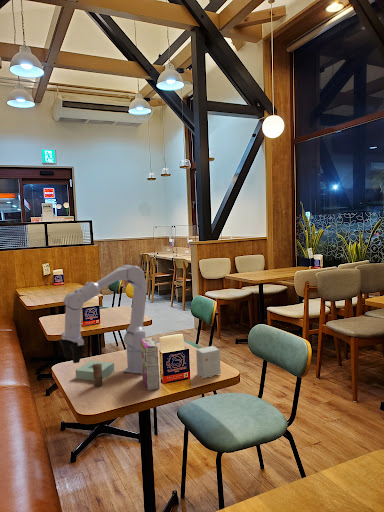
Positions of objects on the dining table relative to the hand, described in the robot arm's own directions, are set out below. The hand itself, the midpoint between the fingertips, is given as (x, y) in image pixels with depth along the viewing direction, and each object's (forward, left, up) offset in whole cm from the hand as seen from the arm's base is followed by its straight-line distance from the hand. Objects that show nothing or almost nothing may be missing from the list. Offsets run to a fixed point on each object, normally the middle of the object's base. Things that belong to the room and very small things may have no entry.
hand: (71, 360), depth 144 cm
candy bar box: (-28, -9, -10) cm, 31 cm away
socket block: (-2, -12, -10) cm, 16 cm away
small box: (-47, -23, -10) cm, 54 cm away
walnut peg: (-9, -3, -10) cm, 14 cm away
